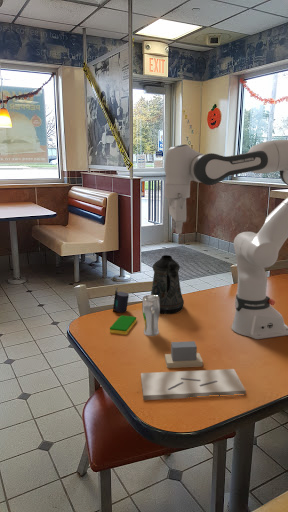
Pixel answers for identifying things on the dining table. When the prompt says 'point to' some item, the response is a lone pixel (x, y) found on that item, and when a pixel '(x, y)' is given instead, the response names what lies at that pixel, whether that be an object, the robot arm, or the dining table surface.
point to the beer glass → (151, 314)
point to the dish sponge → (123, 325)
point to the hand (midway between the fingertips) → (177, 231)
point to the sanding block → (183, 355)
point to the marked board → (190, 384)
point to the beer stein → (167, 285)
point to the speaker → (120, 301)
